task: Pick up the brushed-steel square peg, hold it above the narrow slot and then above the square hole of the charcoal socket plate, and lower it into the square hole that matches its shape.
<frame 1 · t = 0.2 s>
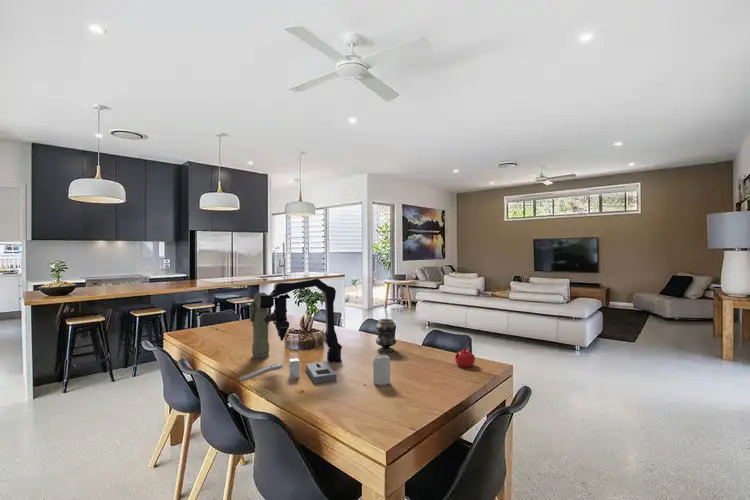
hand: (280, 338, 189), 14 cm above the table, tool pointing down, fingers open, 9 cm apart
pomegranate: (464, 365, 191), on the table
adjustable wrench: (260, 373, 181), on the table
thermos: (260, 356, 207), on the table
steel peg: (294, 377, 174), on the table
apothecary jar: (385, 350, 219), on the table
socket plate: (320, 375, 177), on the table
can: (381, 383, 166), on the table
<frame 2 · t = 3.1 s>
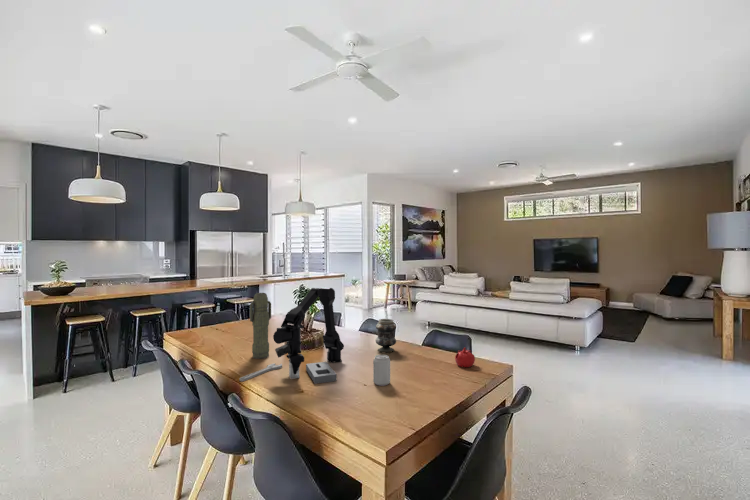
hand: (294, 372, 174), 2 cm above the table, tool pointing down, fingers closed on steel peg, 4 cm apart
steel peg: (294, 377, 174), on the table, touching gripper
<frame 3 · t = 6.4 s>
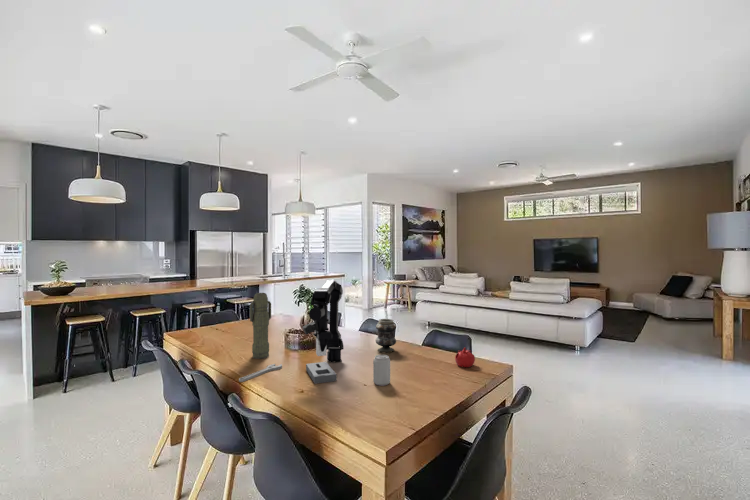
hand: (321, 350, 174), 12 cm above the table, tool pointing down, fingers closed on steel peg, 4 cm apart
steel peg: (321, 354, 174), point 10 cm above the table, touching gripper
when the fingers open (4 cm above the table, at t = 9.6 s): steel peg drops 2 cm, resting in socket plate.
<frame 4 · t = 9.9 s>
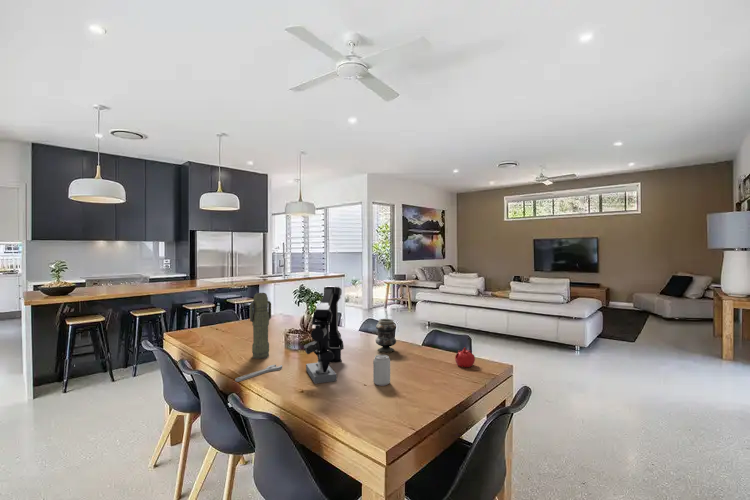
hand: (322, 369, 172), 4 cm above the table, tool pointing down, fingers open, 7 cm apart
steel peg: (322, 378, 172), resting in socket plate
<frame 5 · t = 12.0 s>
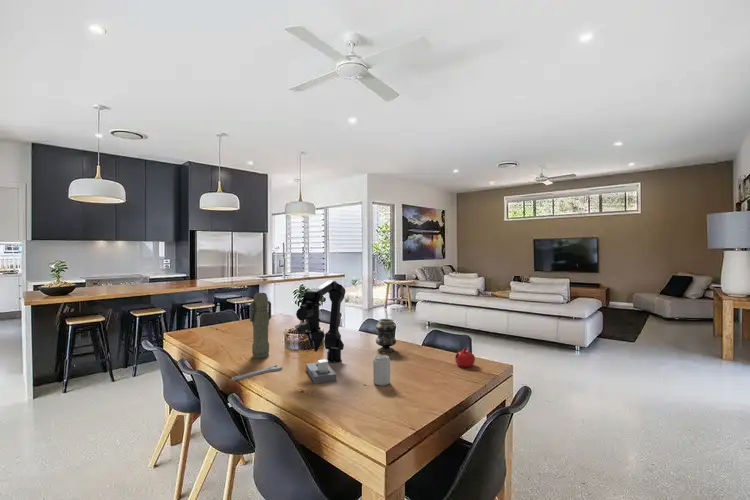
hand: (313, 348, 179), 12 cm above the table, tool pointing down, fingers open, 9 cm apart
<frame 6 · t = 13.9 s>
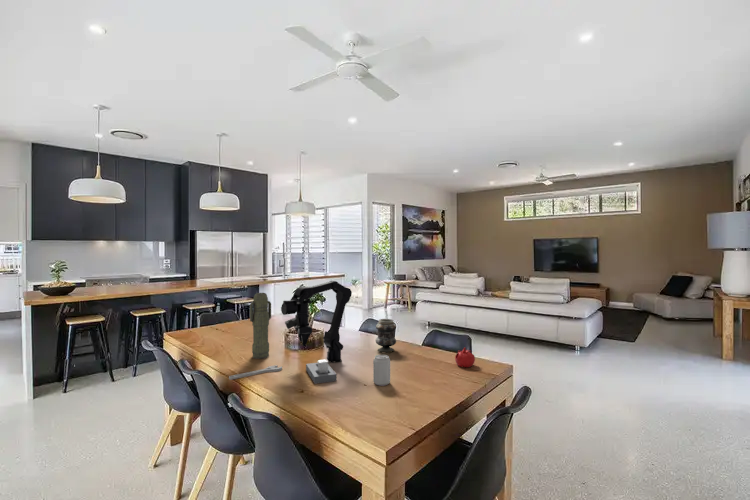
hand: (302, 343, 187), 12 cm above the table, tool pointing down, fingers open, 9 cm apart
at the end: steel peg 0.0 cm from the target spot on the socket plate, point 0.0 cm above the socket plate's base; steel peg tilted 0°; the gripper is holding nothing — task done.
